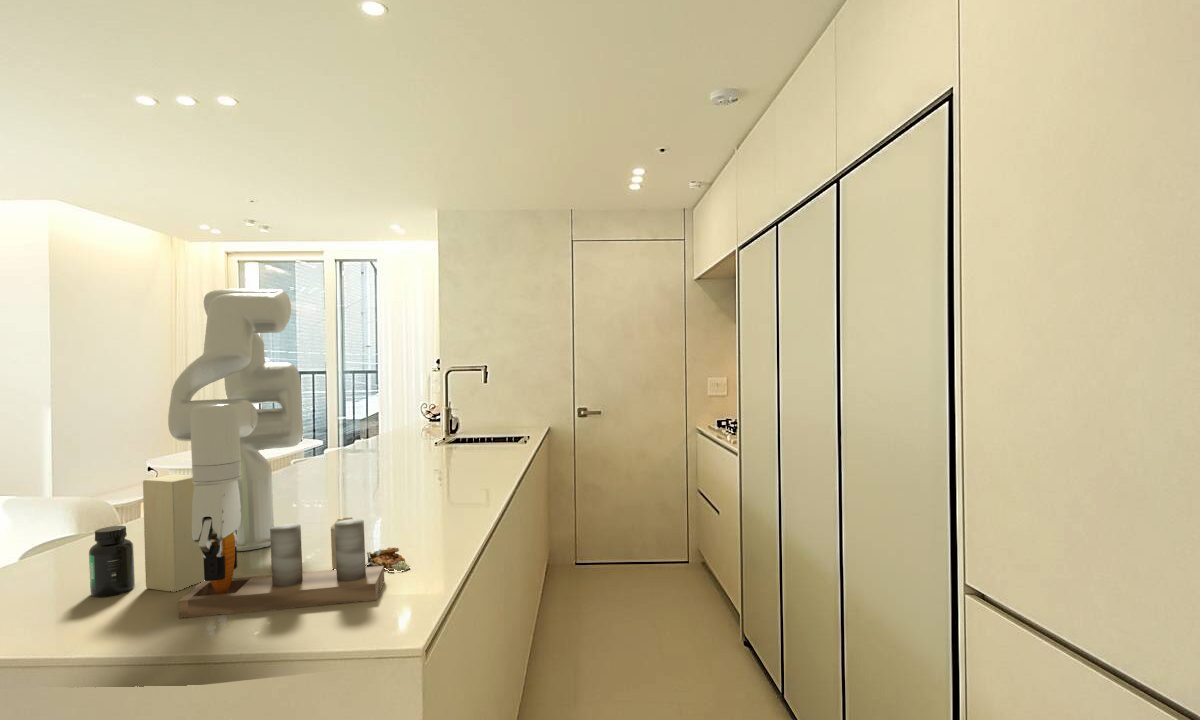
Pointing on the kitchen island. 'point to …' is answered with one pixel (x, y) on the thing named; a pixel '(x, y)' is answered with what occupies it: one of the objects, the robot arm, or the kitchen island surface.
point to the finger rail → (280, 596)
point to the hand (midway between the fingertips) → (221, 573)
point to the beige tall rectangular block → (170, 534)
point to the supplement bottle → (111, 562)
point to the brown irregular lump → (388, 559)
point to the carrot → (226, 564)
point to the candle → (334, 542)
